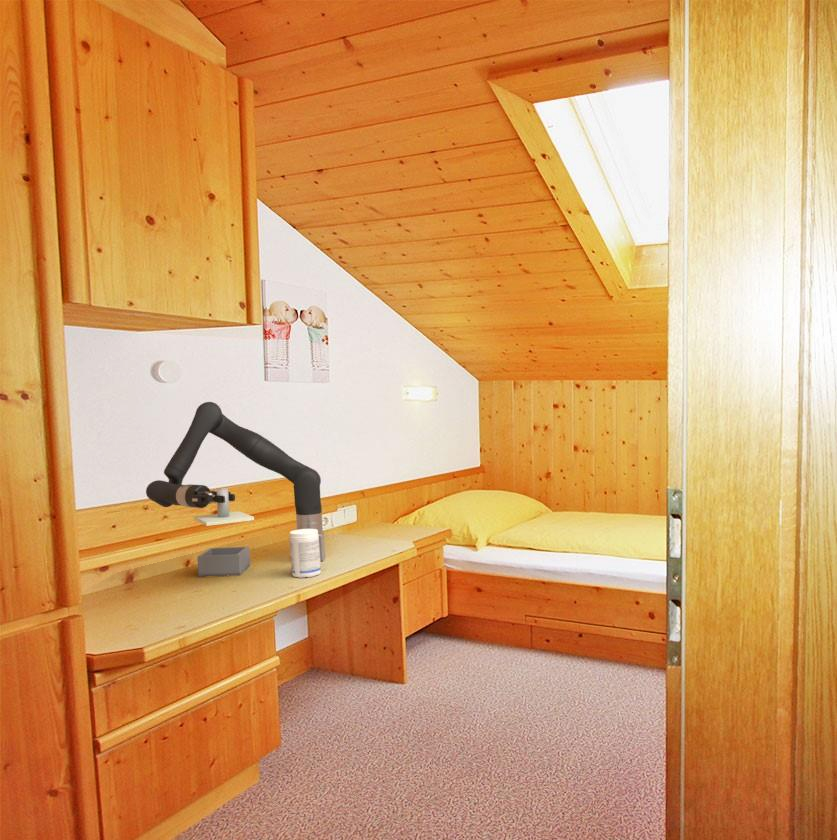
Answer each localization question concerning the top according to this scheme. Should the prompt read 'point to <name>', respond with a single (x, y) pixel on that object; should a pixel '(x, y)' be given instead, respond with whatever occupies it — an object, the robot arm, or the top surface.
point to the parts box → (223, 561)
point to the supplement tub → (305, 553)
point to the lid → (223, 513)
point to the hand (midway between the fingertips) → (229, 498)
